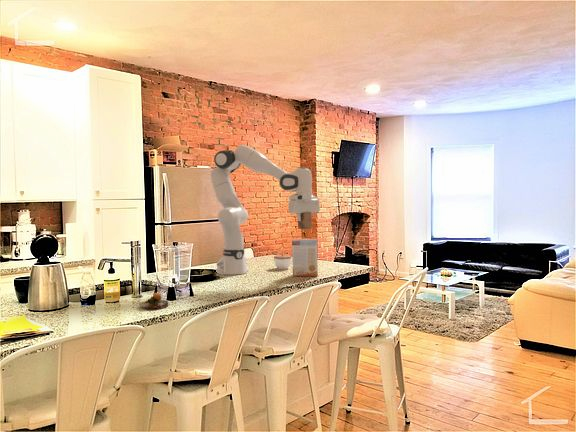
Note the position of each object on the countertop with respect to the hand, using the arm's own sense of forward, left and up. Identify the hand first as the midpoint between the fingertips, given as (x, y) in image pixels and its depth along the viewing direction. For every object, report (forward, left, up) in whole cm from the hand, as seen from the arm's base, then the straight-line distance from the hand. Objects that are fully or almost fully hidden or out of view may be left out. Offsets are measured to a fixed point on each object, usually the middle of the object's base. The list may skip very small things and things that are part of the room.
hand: (304, 221), depth 264 cm
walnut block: (0, 0, -4) cm, 4 cm away
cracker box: (0, 0, -31) cm, 31 cm away
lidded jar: (-28, +5, -31) cm, 42 cm away
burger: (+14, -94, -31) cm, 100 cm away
